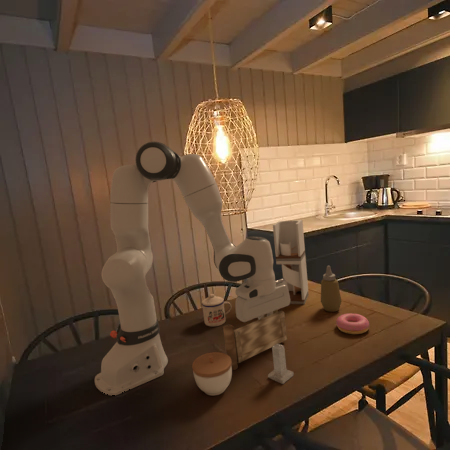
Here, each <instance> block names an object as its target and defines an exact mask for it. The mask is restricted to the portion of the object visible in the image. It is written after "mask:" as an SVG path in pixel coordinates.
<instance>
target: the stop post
mask: <svg viewBox="0 0 450 450" xmlns="http://www.w3.org/2000/svg"><path fill="white" fill-rule="evenodd" d="M271 350H272V361H273V370H272V371H270V372H269V373H268V374H267V378H269V379H271V380H273V381H275V382H277V383H279V384H281V385H284V384H285V383H286V382H287V381H288V380H290V379H291V378H292V377H294V375H295V374H294V371H292V370H289V369H288V368H287V361H286V352H285V351H286V350H285V345H283V344H281V343H279V344H278V343H277V344H276V345H274V346H273V347H271Z"/></svg>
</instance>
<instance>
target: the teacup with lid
mask: <svg viewBox="0 0 450 450" xmlns="http://www.w3.org/2000/svg"><path fill="white" fill-rule="evenodd" d="M225 305H228V309H227V311H226V310H225ZM201 306H202V312H203V320H204V324H205V326H207V327H219V326H222V325H223V324H225V322H226V321H227V319H226V315H227V314H229V313H230V312H231V311H232V304H231V303H230V302H229V301H225V300H224V298H223V297H221V296H218V295H217V296H216V295H215V294H214V293H210V294H209V296H208V297H206V298H204V299H203V300H202V301H201Z"/></svg>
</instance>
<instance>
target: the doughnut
mask: <svg viewBox="0 0 450 450" xmlns="http://www.w3.org/2000/svg"><path fill="white" fill-rule="evenodd" d="M368 319H369V318H366V317H365V316H364V315H361V314H359V313H354V312H352V313H349V312H348V313H343V314H340V315H339V316H338V317H337V318H336V321H335V324H336V326H337V328H338V330H340V332H342V333H344V334H349V335H362V334H364V333H366V332H367V331H368V330H369V329H370V321H369V320H368Z"/></svg>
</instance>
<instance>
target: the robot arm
mask: <svg viewBox="0 0 450 450" xmlns="http://www.w3.org/2000/svg"><path fill="white" fill-rule="evenodd" d="M112 173H113V174H112V177H111V185H110V194H109V195H110V198H109V202H110V203H109V205H110V207H109V213H110V230H111V231H112V234H113V235H114V236H113V237H114V240H115V244H116V252H115V253H113V254H111V256H109V257H108V259H107V260H106V261H105V263H104V265H103V266H102V270H101V272H100V273H101V275H100V276H101V280H102V282H103V283H104V285H105V286H106V287H107V288H108V289H110V291H111V294H112V296H113V298H114V300H115V303H116V307H117V311H118V317H119V318H118V319H119V324H120V328H119V330H118V331H117V330H114V329H113V330H112V331H110V333H109V335H110V337H111V338H113V339H116V342H115V343H114V345H113V346H112V347H111V349H110V350H109V351H108V352H107V353H106V354H105V356H104V357H103V358H102V360H101V365H100V366H101V367H100V372H99V373H97V374H96V375H95V376H94V386H95V387H96V389H98V391H99V392H101V393H102V392H103V393H102V394H104V393H105V394H104V395H107V394H108V395H107V396H112V395H115V396H118V395H121V394H122V392H123V393H125V392H127V391H129V389H130V390H132V389H134V388H136V387H138V386H141V385H143V384H146V383H147V382H148V383H149V382H150V381H152V380H155V379H157V378H159V377H162V376H163V375H164V373H165V368H166V366H167V365H168V362H169V358H168V357H167V355H166V352H165V351H164V347H163V345H162V344H163V343H162V341H161V336H160V334H161V330H160V324H159V320H158V318H157V313H156V307H155V301H154V300H155V299H154V297H153V294H151V292H150V289H149V287H148V284H147V283H148V282H147V279H146V275H147V273H148V272H149V271H150V270H151V268H152V266H153V261H154V253H153V251H152V243H151V237H150V231H149V190H150V186H151V184H153V183H155V182H162V181H164V180H172V181H174V182H175V183H176V185H177V186H178V189H179V191H180V193H181V195H182V197H183V200H184V202H185V204H186V206H187V207H188V208H189V211H190V212H191V213H192V215H193V216H194V217H195V218H196V219H197V220H198V221H199V222H200V223H201V225H202V226H203V228H204V230H205V232H206V235H207V236H208V239H209V241H210V242H211V243H210V244H211V245H212V250H213V262H214V265H215V268H216V269H217V271H218V272H219V274H220V277H222V278H223V280H225V281H227V282H230V283H237V282H240V281H243V280H246V281H244V283H242V284H240V286H238V287H237V288H235V291H234V292H235V295H236V296H237V297H236V299H235V305H234V306H235V314H236V315H235V316H236V319H237V320H239V321H240V322H243V323H246V322H249V321H251V320H254V319H257V320H260V319H262V318H264V315H265V314H267V316H269V315H272V314H273V311H275V310H280V309H283V308H285V307H288V306H290V305H291V304H290V295H289V291H288V288H287V281H286V280H285V279H284V278H280V279H278V280H276V276H275V271H274V257H273V256H274V255H273V250H272V245H271V242H270V240H268V239H267V238H265V237H262V236H258V235H257V236H256V235H255V236H253V235H252V236H247V237H246V238H245V239H244V240H243V241H242V242H240V243H239V244H238V245H235V244H234V243H233V242H232V241H231V239H230V237H229V235H228V232H227V229H226V227H225V225H224V223H223V218H222V209H223V199H222V196H221V192H220V189H219V186H218V183H217V181H216V179H215V177H214V175H213V173H212V171H211V169H210V168H209V165H208V164H207V162H206V161H205V159H204V158H203V157H202V156H201V155H199V154H196V153H187V154H185V155H183V156H180V155H179V154H178V152H177V153H176V151H175V150H173V149H172V148H171V147H169V146H168V145H167V144H165V143H162V142H160V141H149V142H146V143H144V144H143V145H142V146H140V147H139V148H138V150H137V152H136V154H135V163H134V164H124V165H120V166H119V167H117V168H116V169H115V170H114V171H113V172H112ZM124 391H125V392H124Z"/></svg>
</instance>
